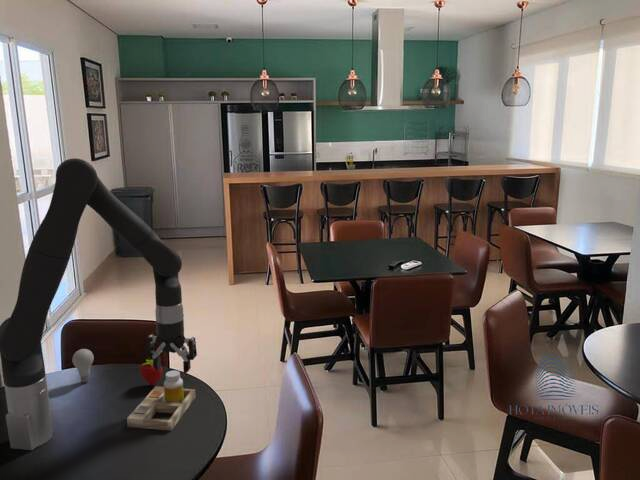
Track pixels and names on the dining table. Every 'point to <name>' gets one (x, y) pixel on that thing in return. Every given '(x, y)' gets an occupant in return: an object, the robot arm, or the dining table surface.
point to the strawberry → (150, 372)
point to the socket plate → (159, 410)
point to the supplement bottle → (173, 387)
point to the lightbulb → (83, 363)
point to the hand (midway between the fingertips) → (172, 370)
